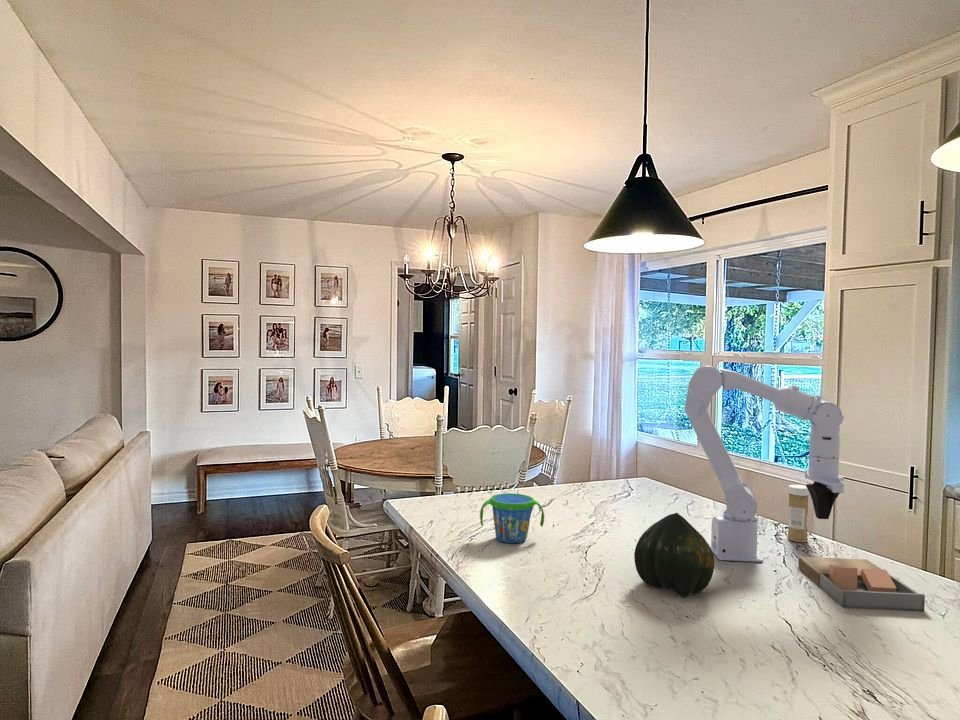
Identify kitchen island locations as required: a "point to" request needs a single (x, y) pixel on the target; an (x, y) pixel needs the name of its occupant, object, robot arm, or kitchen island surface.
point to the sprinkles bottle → (798, 513)
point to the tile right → (877, 580)
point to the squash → (674, 556)
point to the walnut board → (821, 566)
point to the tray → (875, 596)
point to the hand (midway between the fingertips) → (822, 518)
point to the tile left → (843, 576)
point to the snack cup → (511, 516)
